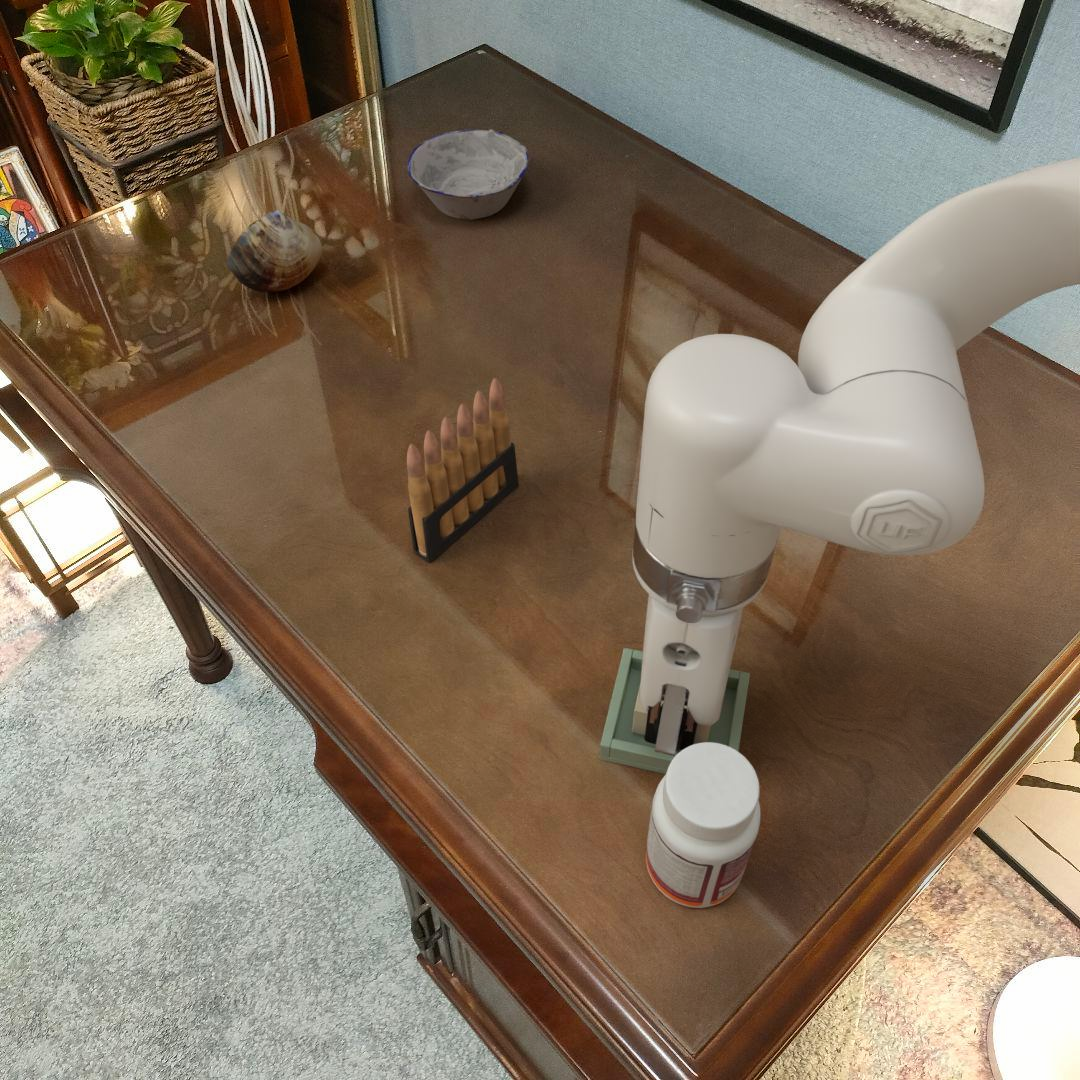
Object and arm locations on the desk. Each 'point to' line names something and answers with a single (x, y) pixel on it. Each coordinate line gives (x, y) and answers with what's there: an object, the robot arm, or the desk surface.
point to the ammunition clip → (460, 474)
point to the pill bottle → (703, 825)
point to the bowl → (469, 171)
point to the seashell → (274, 253)
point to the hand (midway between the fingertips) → (674, 711)
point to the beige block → (641, 721)
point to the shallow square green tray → (632, 746)
